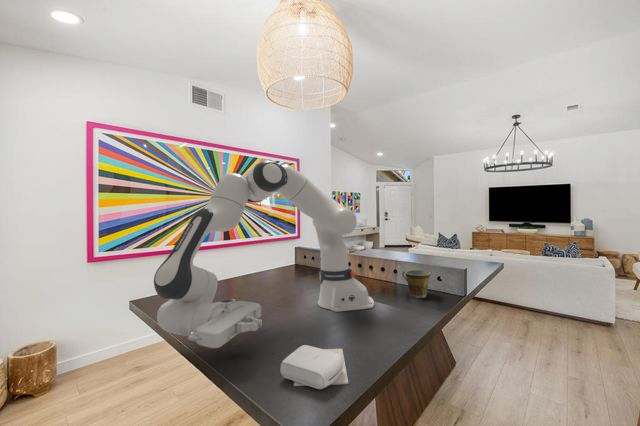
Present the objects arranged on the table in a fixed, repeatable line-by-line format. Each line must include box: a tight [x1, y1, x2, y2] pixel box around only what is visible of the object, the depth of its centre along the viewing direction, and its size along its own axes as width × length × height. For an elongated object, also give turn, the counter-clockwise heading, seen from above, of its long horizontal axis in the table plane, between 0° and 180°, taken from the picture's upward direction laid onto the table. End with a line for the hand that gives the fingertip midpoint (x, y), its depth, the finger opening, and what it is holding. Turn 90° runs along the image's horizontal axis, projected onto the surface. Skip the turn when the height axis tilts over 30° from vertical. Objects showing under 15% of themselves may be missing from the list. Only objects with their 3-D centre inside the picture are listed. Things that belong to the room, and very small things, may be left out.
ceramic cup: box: [401, 269, 431, 299], centre depth 123 cm, size 13×10×10 cm
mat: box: [293, 348, 349, 387], centre depth 70 cm, size 12×15×1 cm
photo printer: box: [279, 344, 345, 390], centre depth 66 cm, size 10×4×12 cm
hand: (259, 325), depth 72 cm, fingers closed
